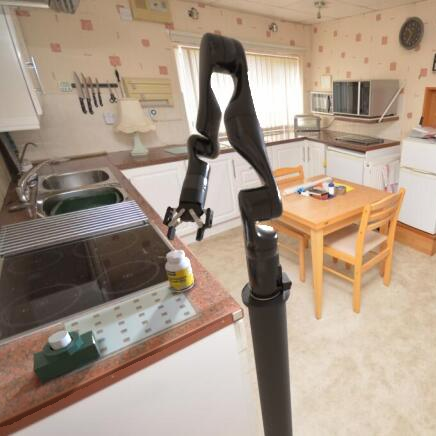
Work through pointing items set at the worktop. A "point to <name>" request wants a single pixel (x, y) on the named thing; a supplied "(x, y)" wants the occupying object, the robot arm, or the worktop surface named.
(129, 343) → the worktop surface
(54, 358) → the button base
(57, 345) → the white short cylinder
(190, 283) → the pill bottle
